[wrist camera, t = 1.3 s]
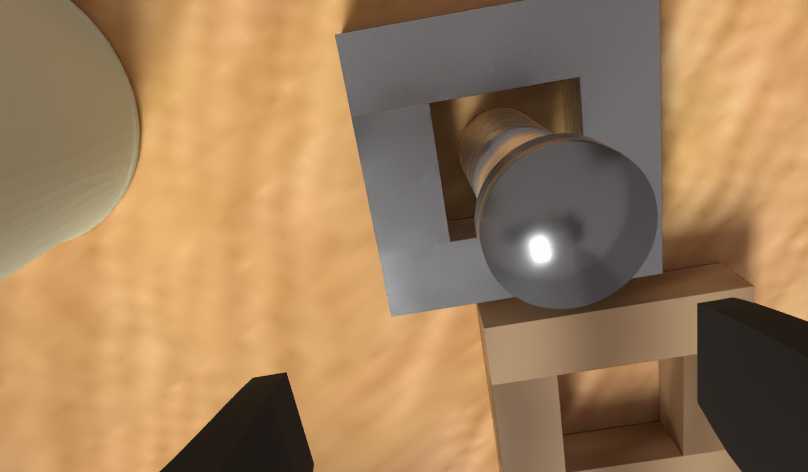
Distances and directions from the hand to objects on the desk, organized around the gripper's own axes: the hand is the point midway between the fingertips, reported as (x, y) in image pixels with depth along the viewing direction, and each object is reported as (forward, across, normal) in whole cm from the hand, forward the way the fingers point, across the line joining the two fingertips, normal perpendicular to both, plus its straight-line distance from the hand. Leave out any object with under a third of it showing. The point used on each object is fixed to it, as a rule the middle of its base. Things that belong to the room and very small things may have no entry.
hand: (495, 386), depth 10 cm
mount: (+10, -2, -2) cm, 11 cm away
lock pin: (+10, -2, -2) cm, 11 cm away
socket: (+10, -5, +8) cm, 14 cm away
